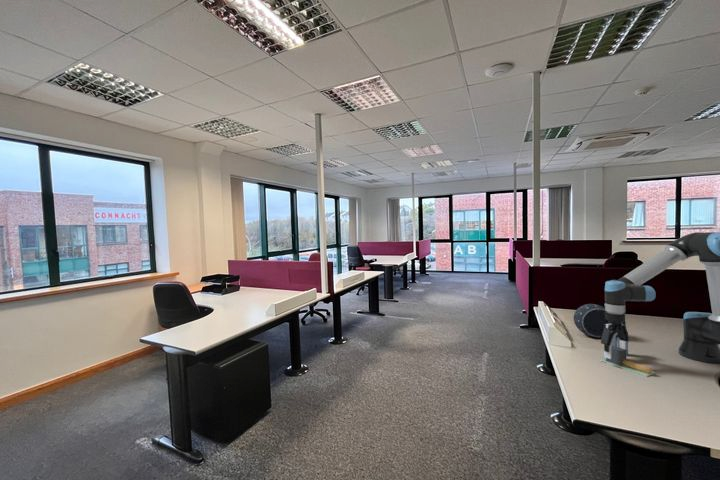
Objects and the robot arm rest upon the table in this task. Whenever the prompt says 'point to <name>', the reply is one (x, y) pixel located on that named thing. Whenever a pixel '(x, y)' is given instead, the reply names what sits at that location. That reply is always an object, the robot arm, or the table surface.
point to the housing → (614, 342)
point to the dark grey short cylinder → (590, 319)
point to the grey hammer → (620, 359)
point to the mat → (629, 368)
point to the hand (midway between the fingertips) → (615, 355)
